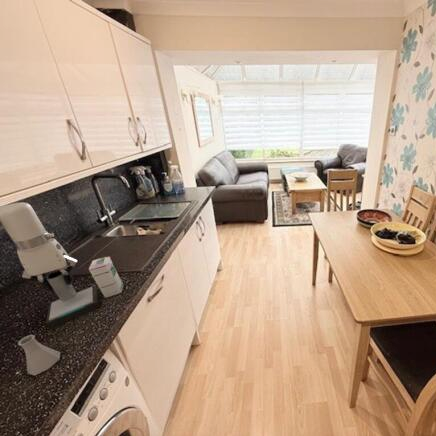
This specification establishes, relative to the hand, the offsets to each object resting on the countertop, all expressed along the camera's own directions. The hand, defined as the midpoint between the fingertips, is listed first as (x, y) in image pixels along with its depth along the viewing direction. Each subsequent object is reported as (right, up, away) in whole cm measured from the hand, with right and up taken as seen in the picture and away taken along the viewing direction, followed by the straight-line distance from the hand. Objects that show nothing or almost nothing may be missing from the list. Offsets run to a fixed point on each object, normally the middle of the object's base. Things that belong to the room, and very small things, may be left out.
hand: (61, 284), depth 84 cm
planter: (0, -5, +3) cm, 6 cm away
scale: (+1, -10, +5) cm, 11 cm away
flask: (+10, -19, -15) cm, 26 cm away
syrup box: (+10, -6, +12) cm, 17 cm away
